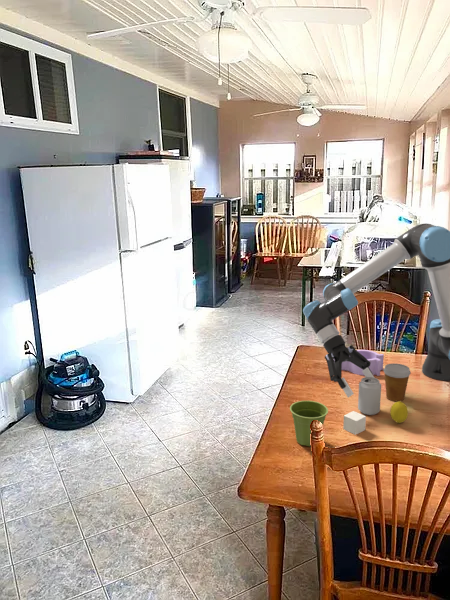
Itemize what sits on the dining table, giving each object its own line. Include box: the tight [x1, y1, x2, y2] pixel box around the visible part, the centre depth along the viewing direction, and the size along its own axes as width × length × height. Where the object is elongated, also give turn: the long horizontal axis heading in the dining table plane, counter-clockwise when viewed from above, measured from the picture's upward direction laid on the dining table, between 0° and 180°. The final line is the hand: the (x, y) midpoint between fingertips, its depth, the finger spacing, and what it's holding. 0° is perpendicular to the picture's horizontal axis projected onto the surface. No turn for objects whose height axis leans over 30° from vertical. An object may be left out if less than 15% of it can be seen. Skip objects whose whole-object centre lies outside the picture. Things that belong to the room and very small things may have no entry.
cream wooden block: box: [342, 410, 367, 436], centre depth 163 cm, size 5×5×5 cm
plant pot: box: [289, 400, 329, 447], centre depth 156 cm, size 12×12×11 cm
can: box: [357, 376, 382, 416], centre depth 174 cm, size 8×8×12 cm
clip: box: [342, 349, 385, 377], centre depth 212 cm, size 20×12×7 cm, turn 63°
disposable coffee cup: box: [382, 362, 412, 402], centre depth 184 cm, size 10×10×12 cm
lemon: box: [389, 401, 409, 424], centre depth 166 cm, size 6×6×8 cm
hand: (363, 390), depth 175 cm, fingers open, 13 cm apart
